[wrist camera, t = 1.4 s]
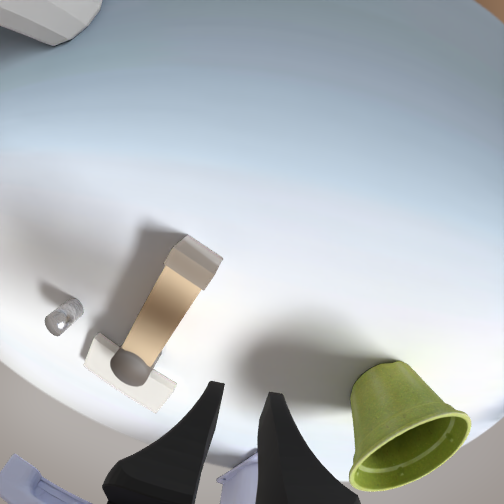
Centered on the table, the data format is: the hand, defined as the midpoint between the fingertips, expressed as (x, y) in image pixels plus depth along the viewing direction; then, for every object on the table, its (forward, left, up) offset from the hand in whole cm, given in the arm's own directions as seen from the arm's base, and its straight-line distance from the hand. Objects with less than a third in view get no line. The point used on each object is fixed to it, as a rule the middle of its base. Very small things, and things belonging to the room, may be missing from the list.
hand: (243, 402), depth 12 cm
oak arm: (-3, +5, -8) cm, 11 cm away
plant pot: (+1, -14, -9) cm, 16 cm away
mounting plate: (-11, +5, -8) cm, 15 cm away
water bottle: (+14, +26, -9) cm, 31 cm away
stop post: (-9, +12, -8) cm, 17 cm away
